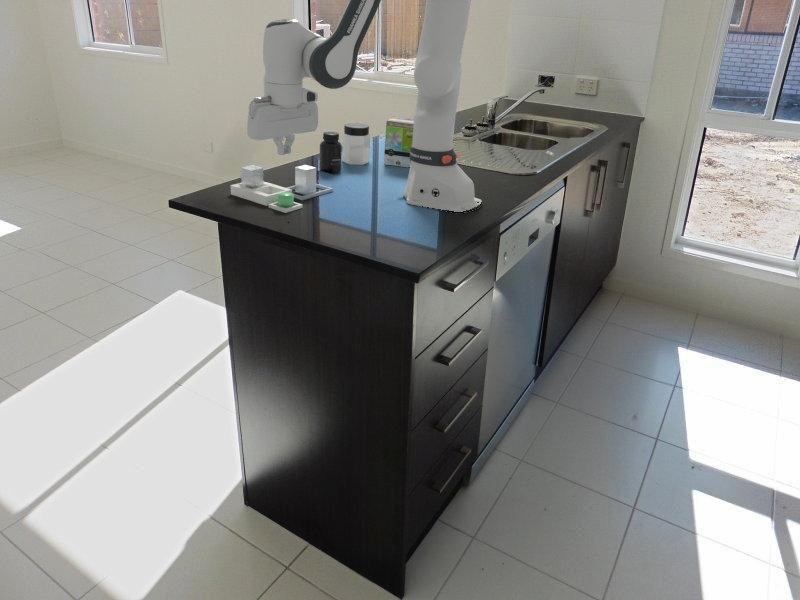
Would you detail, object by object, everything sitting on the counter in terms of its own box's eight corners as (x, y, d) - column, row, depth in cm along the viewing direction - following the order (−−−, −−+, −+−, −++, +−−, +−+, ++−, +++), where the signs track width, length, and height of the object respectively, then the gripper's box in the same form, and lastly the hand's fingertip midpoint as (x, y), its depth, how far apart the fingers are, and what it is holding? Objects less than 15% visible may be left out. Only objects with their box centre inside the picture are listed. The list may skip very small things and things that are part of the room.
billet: (316, 192, 172) (316, 167, 169) (306, 195, 169) (305, 170, 166) (305, 189, 174) (305, 164, 171) (295, 192, 171) (294, 167, 168)
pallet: (292, 202, 166) (291, 189, 164) (266, 210, 159) (266, 196, 158) (257, 192, 173) (256, 179, 171) (231, 198, 166) (230, 185, 165)
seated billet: (263, 193, 168) (263, 167, 165) (252, 196, 165) (251, 170, 162) (253, 190, 170) (252, 164, 167) (241, 193, 167) (240, 167, 164)
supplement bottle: (337, 175, 193) (338, 136, 188) (316, 173, 194) (316, 134, 189) (343, 170, 199) (344, 132, 194) (323, 168, 200) (323, 130, 195)
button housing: (302, 212, 160) (302, 204, 159) (285, 217, 155) (285, 209, 154) (285, 206, 163) (285, 199, 162) (268, 211, 158) (268, 204, 157)
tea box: (383, 165, 208) (385, 120, 202) (390, 159, 217) (393, 115, 211) (427, 171, 205) (431, 125, 199) (433, 164, 214) (437, 120, 208)
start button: (297, 206, 159) (296, 194, 158) (285, 209, 156) (285, 198, 155) (285, 202, 161) (285, 191, 160) (274, 206, 158) (273, 194, 157)
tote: (333, 195, 174) (333, 188, 173) (302, 204, 165) (302, 197, 164) (309, 188, 179) (309, 181, 178) (277, 197, 170) (277, 189, 169)
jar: (368, 159, 214) (369, 123, 209) (369, 165, 207) (371, 128, 202) (342, 158, 213) (342, 122, 208) (342, 164, 206) (343, 127, 201)
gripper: (259, 100, 137) (261, 163, 143) (322, 93, 152) (322, 150, 158) (239, 96, 140) (242, 157, 146) (303, 90, 156) (303, 146, 162)
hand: (284, 154), depth 153 cm, fingers closed
